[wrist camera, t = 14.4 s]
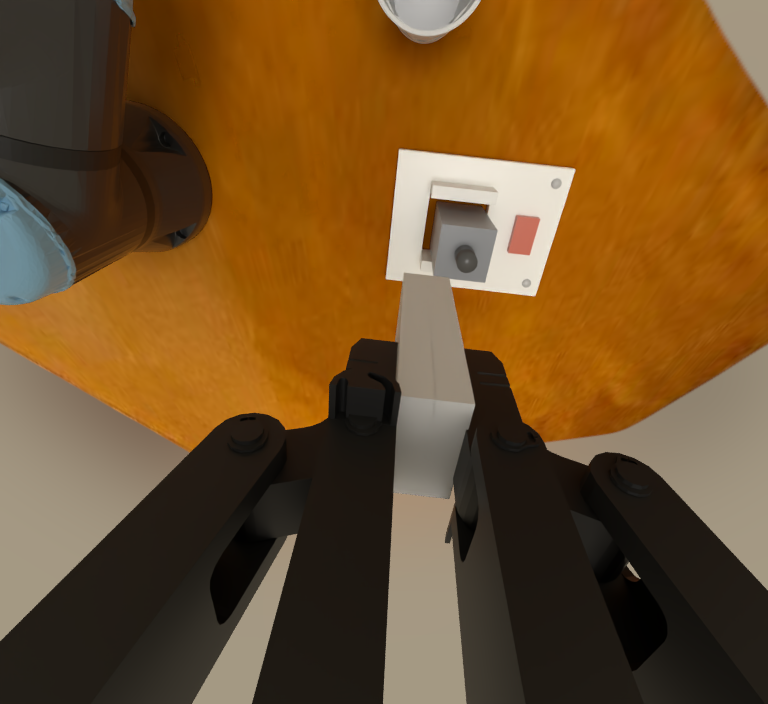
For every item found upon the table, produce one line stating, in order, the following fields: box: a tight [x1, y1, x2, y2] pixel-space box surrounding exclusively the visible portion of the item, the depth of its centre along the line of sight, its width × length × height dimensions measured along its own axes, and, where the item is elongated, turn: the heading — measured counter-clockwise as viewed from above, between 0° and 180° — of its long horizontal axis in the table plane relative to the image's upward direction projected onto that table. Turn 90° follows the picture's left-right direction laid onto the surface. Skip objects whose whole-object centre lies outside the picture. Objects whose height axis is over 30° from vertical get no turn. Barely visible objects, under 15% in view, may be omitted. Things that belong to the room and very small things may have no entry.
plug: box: [430, 201, 498, 283], centre depth 41 cm, size 5×5×12 cm
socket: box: [386, 148, 576, 296], centre depth 44 cm, size 18×14×4 cm
